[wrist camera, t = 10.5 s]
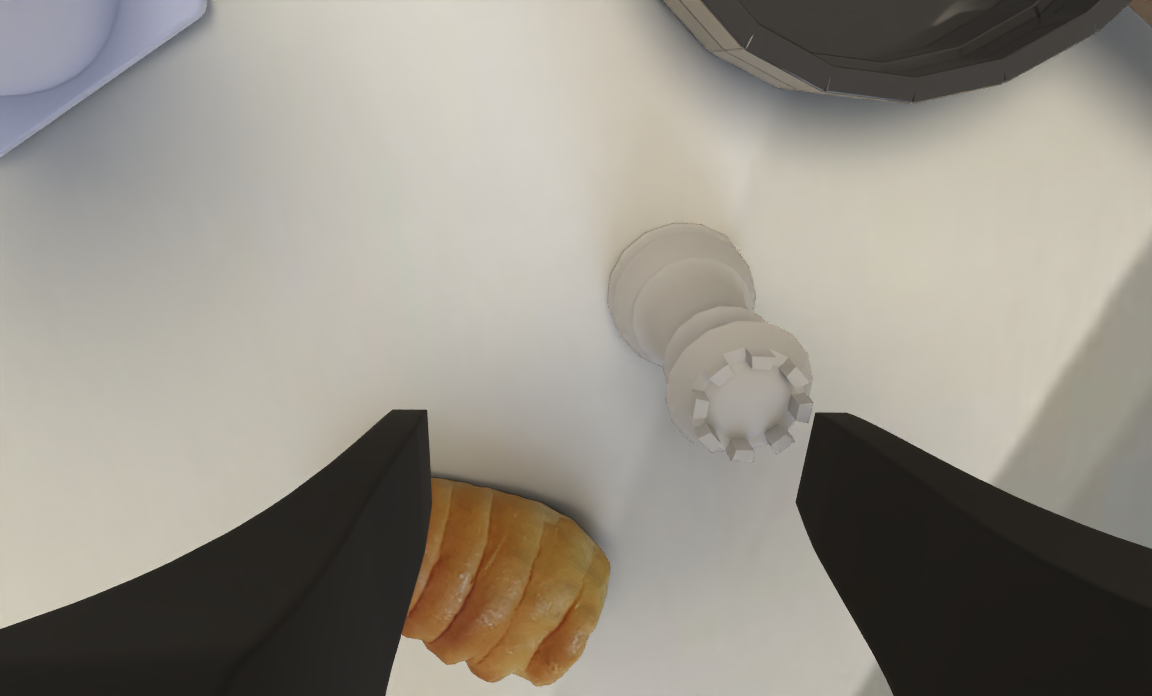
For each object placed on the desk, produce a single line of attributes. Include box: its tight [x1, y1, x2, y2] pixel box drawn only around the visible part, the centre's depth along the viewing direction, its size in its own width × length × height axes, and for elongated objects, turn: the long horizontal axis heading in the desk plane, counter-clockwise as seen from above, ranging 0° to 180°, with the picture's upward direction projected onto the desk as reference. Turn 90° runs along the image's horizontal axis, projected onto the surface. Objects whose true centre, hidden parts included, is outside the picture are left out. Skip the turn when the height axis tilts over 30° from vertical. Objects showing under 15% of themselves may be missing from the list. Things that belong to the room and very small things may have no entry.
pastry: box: [402, 478, 610, 686], centre depth 23 cm, size 9×7×4 cm
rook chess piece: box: [608, 223, 813, 462], centre depth 17 cm, size 4×4×8 cm
